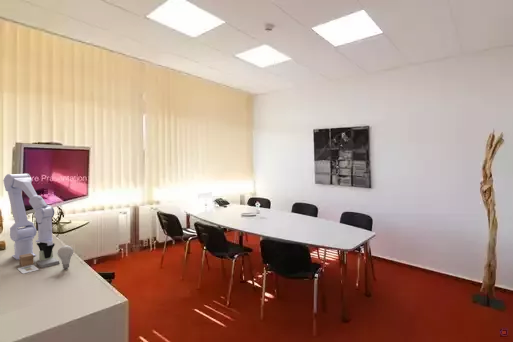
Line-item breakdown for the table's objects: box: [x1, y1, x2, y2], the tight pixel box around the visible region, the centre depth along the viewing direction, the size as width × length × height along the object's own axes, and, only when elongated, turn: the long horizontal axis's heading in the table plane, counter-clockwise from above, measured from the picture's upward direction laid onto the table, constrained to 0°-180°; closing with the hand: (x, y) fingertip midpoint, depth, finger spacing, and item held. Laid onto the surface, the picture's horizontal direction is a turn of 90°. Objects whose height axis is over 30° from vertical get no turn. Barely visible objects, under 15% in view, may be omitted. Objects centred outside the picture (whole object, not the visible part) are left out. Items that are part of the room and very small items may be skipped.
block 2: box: [38, 250, 54, 261], centre depth 144 cm, size 4×4×4 cm
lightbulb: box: [57, 245, 74, 270], centre depth 131 cm, size 6×6×11 cm
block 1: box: [18, 253, 35, 267], centre depth 138 cm, size 4×4×4 cm
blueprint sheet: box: [16, 264, 40, 275], centre depth 132 cm, size 10×6×1 cm, turn 52°
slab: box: [36, 257, 60, 269], centre depth 138 cm, size 7×7×2 cm
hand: (46, 256), depth 144 cm, fingers closed on block 2, 4 cm apart
